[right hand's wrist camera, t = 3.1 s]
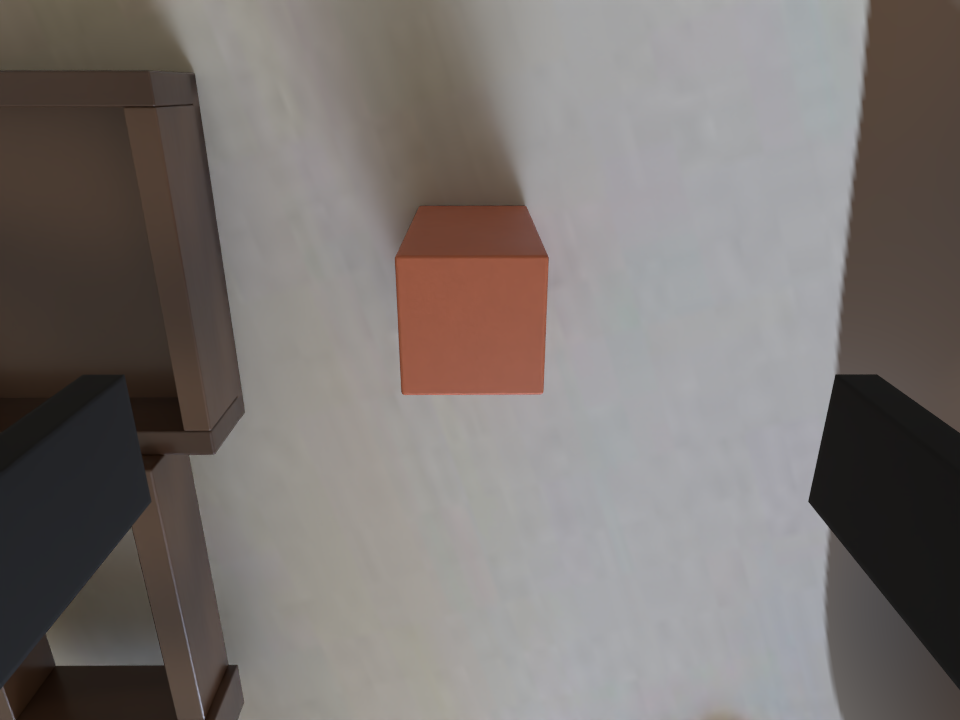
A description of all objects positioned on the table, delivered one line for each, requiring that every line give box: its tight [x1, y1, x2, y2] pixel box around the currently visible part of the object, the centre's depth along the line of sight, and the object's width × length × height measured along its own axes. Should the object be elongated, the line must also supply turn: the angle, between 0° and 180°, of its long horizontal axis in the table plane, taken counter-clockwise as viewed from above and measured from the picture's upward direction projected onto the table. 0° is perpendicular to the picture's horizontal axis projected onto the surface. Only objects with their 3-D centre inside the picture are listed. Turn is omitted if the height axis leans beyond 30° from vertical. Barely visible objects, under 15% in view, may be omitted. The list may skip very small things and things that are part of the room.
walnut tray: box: [0, 71, 245, 720], centre depth 26 cm, size 28×13×4 cm, turn 0°
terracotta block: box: [395, 206, 549, 395], centre depth 22 cm, size 4×4×8 cm
